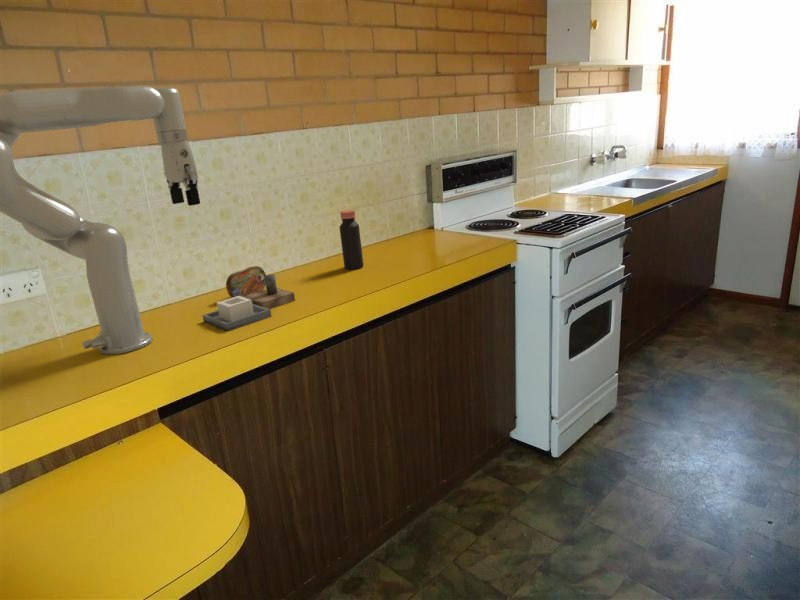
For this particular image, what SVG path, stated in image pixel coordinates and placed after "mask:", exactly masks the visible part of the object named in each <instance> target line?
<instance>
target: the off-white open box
mask: <svg viewBox="0 0 800 600" xmlns="http://www.w3.org/2000/svg"><path fill="white" fill-rule="evenodd" d="M216 308H217V310H218V312H219V317H220V318H221V319H224V320H227V321H229V322H232V321H235V320H238V319H241V318H244V317H247V316H250V315H253V314H254V311H253V305H252V300H251V299H247V298H244V297H241V296H236V297H233V298H232V297H231V298H227V299H224V300H221V301H218V302H216Z"/></svg>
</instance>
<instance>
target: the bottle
mask: <svg viewBox="0 0 800 600" xmlns="http://www.w3.org/2000/svg"><path fill="white" fill-rule="evenodd" d="M339 214H340V219H341V221H342V223H341V224H340V225H339V234H340V235H339V236H340V242H341V249H342V258H343V267H344V269H345V270H348V271H349V270H350V271H351V270H359V269H362V268H363V267H364V257H363V251H362V241H361V240H362V239H361V231H360V225H359V223H358V222H357V221H356V213H355V210H353V209H351V210H350V209H349V210H342V211H340V212H339Z"/></svg>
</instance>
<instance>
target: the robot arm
mask: <svg viewBox="0 0 800 600" xmlns="http://www.w3.org/2000/svg"><path fill="white" fill-rule="evenodd" d="M183 110H184V109H183V105H182V101H181V95H180V91H178V89H177V88H175V87H157V88H156V87H155V88H154V87H152V86H149V85H131V86H130V85H129V86H126V85H125V86H110V87H82V88H81V87H77V88H60V89H42V90H40V89H39V90H38V89H37V90H16V91H15V90H14V91H9V92H4V93H1V94H0V213H2V214H4V216H5V215H6V216H7V217H9V218H11V219H12V220H14V221H16V222H18V223H20V224H21V225H22V226H23V229H24V230H26V232H27V233H28V234H30V235H31V236H33V237H34V238H36V239H38V240H40V241H42V242H44V243H45V244H48V245H50V246H53V247H55V248H57V249H58V250H60V251H63V252H65V253H67V254H69V255H71V256H72V257H75V258H78V259H81V260H85V266H86V270H85V271H86V279H87V283H88V287H89V291H90V294H91V298H92V301H93V306H94V310H95V312H96V316H97V320H98V324H99V327H100V331H99V332H97V334H98V335H97V336H96V335H95V338H92V339H88V340H84V341H82V343H81V344H82V346H83V349H84V350H86V349H90V348H92V350H93V349H96V348H98V351H99V352H100V353H101V354H104V355H119V354H124V353H129V352H133V351H136V350H138V349H141V348H143V347H145V346H147V345H149V344H150V343H151V342H152V341H153V336H152V334H151V332H146V331H144V326H143V322H142V318H141V313H140V311H139V306H138V305H139V304H138V301H137V297H136V293H135V290H134V285H133V282H132V278H131V273H130V267H129V261H128V248H127V244H126V240H125V238H124V236H123V234H122V233H121V231H119V230H118V229H117V228H116V227H115V226H112V225H110V224H106V223H103V222H92V221H89V220H87V219H86V218H84V217H81V216H80V215H79V212H77V210H76V209H75V208H74V207H73V206H71V204H69V203H67V202H65V201H63V200H60V199H59V198H57V197H55V196H53V195H51V194H49V193H47V192H45V191H44V190H42V189H40V188H39V187H36V186H35V185H34V184H32V183H30V182H28V181H27V180H25V178H23V177H22V176H21V175H20V174H19V172H18V171H17V169H16V167H15V163H14V155H13V151H12V149H11V148H12V147H13V145H14V144H15V143H16V141H17V140H18V139H19V138H20V136H21V134H26V133H37V132H47V131H58V130H69V129H79V128H80V129H81V128H82V129H83V128H90V127H95V126H100V125H103V124H108V123H116V122H124V121H131V122H137V121H143V120H150V119H151V120H153V125H154V129H155V134H156V138H157V143H158V146H160V148H161V149H160V150H161V157H162V164H163V168H164V169H163V170H164V177H165V178H166V182H167V184H168V186H167V187H168V190H169V194H170V198H171V203H172V205H177V204H178V205H179V204H183V203H185V199H184V198H185V197H184V193H185V196H186V200H187V205H188V206H191V207H192V206H196V205H200V204H201V199H200V194H199V190H198V189H199V185H198V183H199V182H198V179H199V173H198V170H197V166H196V165H197V164H196V162H195V158H194V154H193V151H192V148H191V145H190V141H189V135H188V131H187V126H186V121H185V114H184V111H183ZM181 183H182V184H183V186H184V187H185V190H184V193H183V188H182V187H180V186H181Z"/></svg>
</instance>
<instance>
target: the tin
mask: <svg viewBox="0 0 800 600" xmlns="http://www.w3.org/2000/svg"><path fill="white" fill-rule="evenodd" d="M266 275H267V274H266V272H265V270H264V269H263V268H262V267H260V266H257V265H255V266H249V267H246V268H244V269H241V270H239V271H235V272H232V273H231V274H229V275H228V277H227V279H226V283H225V286H226V287H225V288H226V292H227V294H228V295H229V297H231V298H233V297H236V296H241V297H244V296H247V295H250V294H253V293H257V292H260V291H263V290H265V289H264V288H266V283H265V277H264V276H266Z"/></svg>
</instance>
